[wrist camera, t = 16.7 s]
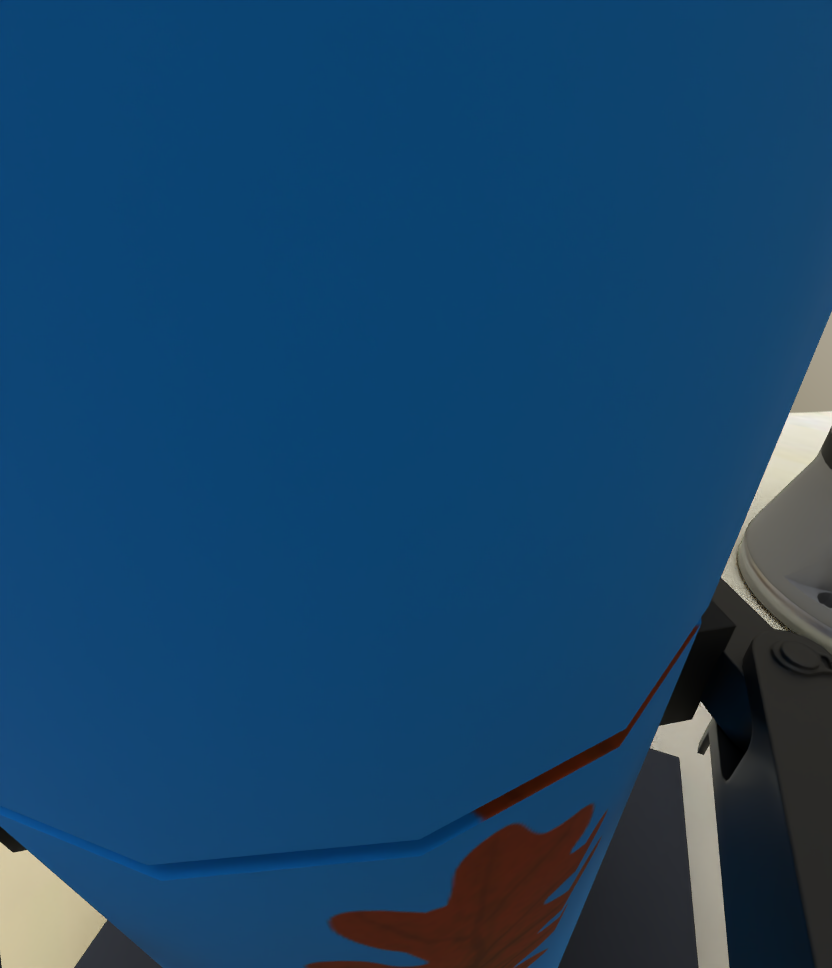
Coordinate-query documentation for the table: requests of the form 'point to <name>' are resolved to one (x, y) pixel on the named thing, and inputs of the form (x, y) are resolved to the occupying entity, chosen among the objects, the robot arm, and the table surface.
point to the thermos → (380, 442)
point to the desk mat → (610, 903)
